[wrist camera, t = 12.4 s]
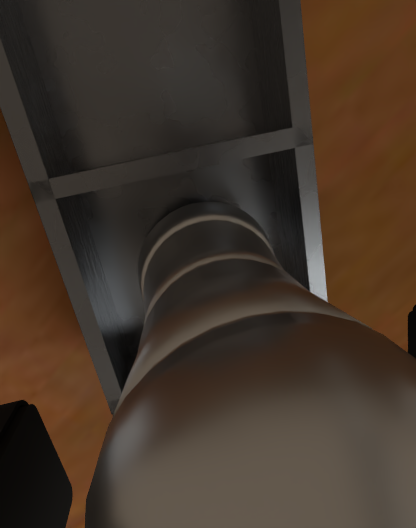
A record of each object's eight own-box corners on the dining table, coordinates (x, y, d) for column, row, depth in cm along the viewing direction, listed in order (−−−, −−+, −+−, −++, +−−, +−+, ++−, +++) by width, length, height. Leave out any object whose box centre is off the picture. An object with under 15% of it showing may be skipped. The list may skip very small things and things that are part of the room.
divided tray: (-23, -83, 15) (-107, -189, 10) (242, -127, 16) (277, -247, 11) (122, 358, 22) (111, 414, 18) (297, 316, 23) (332, 359, 18)
